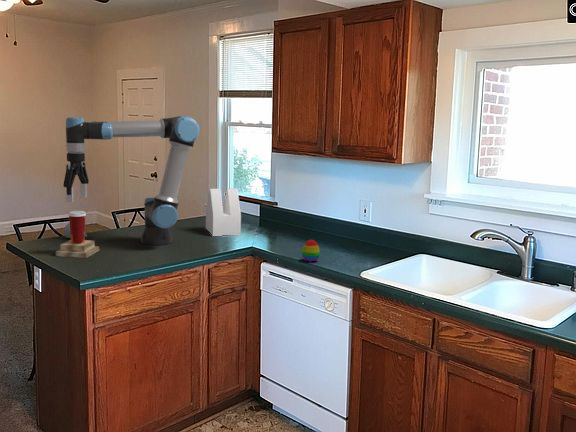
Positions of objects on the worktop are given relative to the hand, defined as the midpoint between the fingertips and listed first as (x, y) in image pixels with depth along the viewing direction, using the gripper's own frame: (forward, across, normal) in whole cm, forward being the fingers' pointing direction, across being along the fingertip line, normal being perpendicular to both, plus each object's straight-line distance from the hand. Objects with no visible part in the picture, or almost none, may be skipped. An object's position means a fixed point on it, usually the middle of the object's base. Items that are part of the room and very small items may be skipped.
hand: (76, 200), depth 252 cm
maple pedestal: (+25, 0, 0) cm, 25 cm away
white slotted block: (+25, -63, +55) cm, 87 cm away
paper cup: (+20, 0, 0) cm, 20 cm away
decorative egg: (+25, -11, +106) cm, 109 cm away
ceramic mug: (+25, -29, -14) cm, 41 cm away
